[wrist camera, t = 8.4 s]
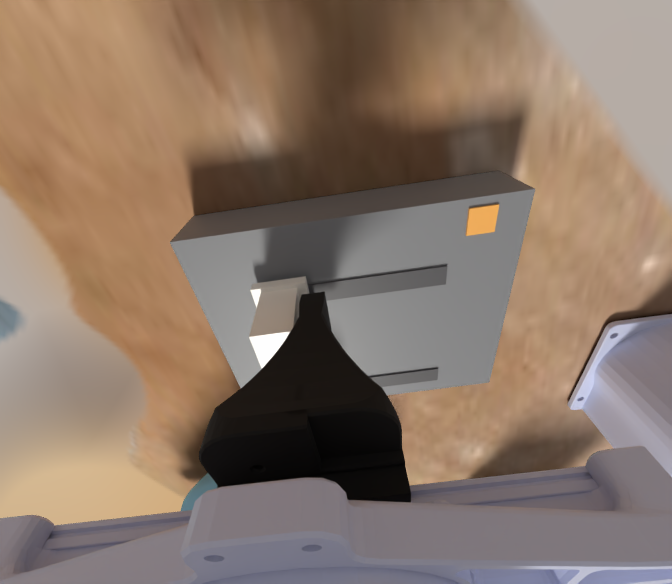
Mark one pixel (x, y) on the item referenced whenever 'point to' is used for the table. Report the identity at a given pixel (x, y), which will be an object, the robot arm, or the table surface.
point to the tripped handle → (275, 314)
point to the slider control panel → (373, 273)
